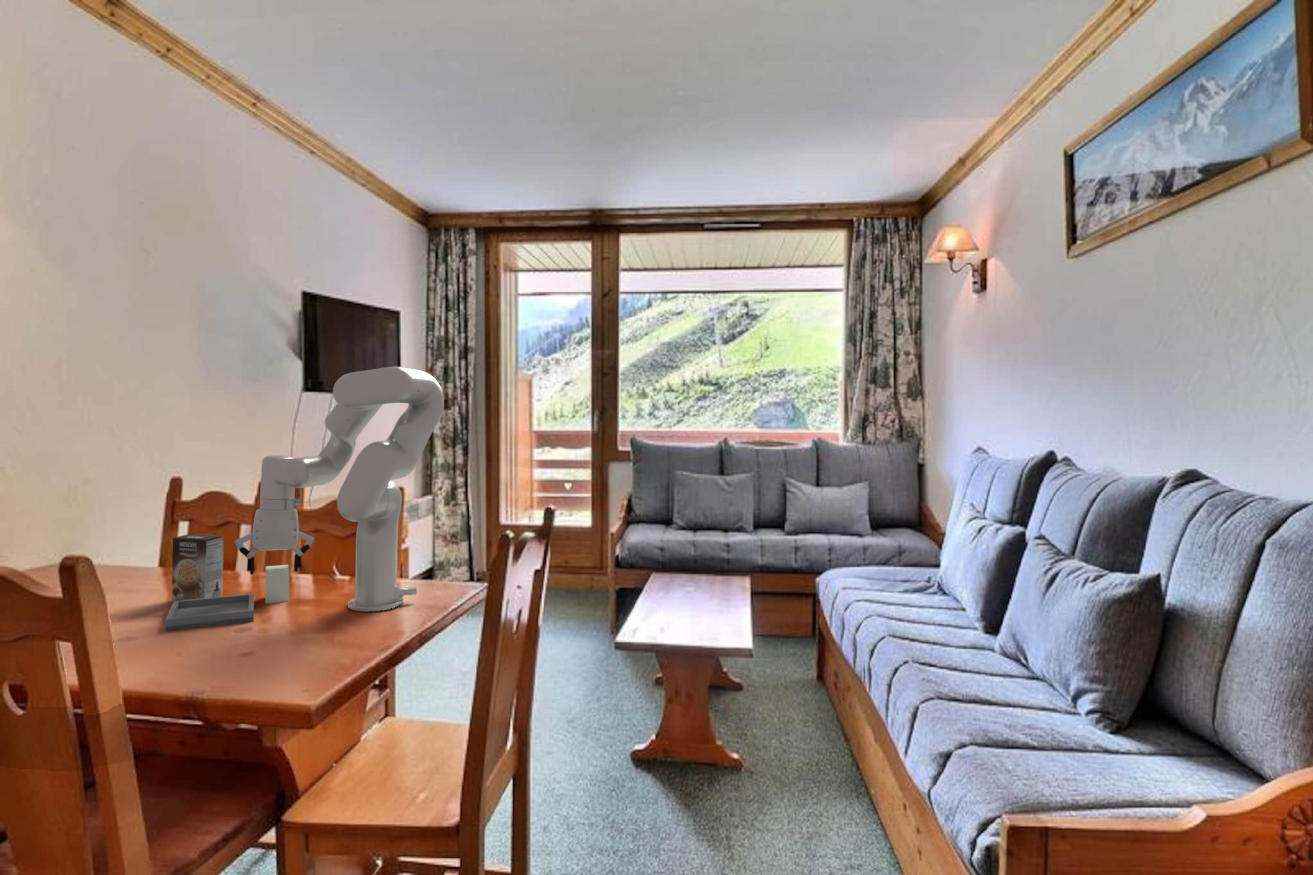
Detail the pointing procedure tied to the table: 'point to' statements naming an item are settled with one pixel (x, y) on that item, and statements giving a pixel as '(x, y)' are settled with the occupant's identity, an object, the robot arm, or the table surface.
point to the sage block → (277, 584)
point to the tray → (210, 612)
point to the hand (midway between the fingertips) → (274, 571)
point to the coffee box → (197, 566)
